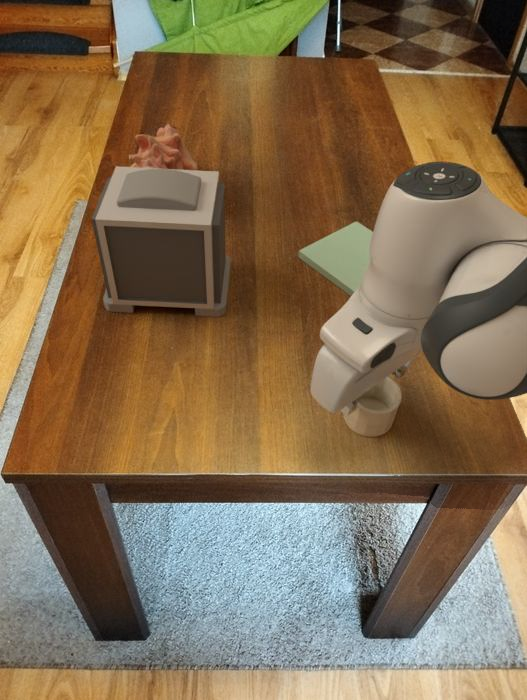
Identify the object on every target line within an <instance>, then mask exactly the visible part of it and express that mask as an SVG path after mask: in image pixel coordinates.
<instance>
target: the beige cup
mask: <svg viewBox="0 0 527 700" xmlns="http://www.w3.org/2000/svg"><path fill="white" fill-rule="evenodd" d="M402 399H403V398H402V390H401V388H400V386H399V385H398V383H397V381H395V380H394V379H393V378H391V377H390V376H388V377H386V378H385V379H384V380H382V381H381V382H379V383H378V384H377V385H375V386H374V387H373V388H371V389H370V390H368V391H367V392H365V393H364V394H363V395H361V396H360V397H359V398H357V399H356V401H357V402H358V405H357V407H356V410H355V411H354V412H352V413H351V414H349V415H348V416H345V415H344V414H343V413H342V417H343V421H344V423H345V424H346V425H347V427H348V428H349V429H350V430H351V431H353V432H354V433H356V434H358V435H360V436H363V437H368V438H369V437H370V438H374V437H375V438H376V437H381V436H382V435H384V434H387V433H388V432H389V431H390V429H391V428H392V426H393V423H394V422H395V420H396V417H397V414H398V411H399V408H400V405H401V403H402Z"/></svg>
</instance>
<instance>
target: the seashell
mask: <svg viewBox="0 0 527 700" xmlns="http://www.w3.org/2000/svg"><path fill="white" fill-rule="evenodd" d="M134 139H135V141H136V142H137V145H138V146H139V149H138V151H137V153H133V154H128V159H129V160H130V161H132V162H133V163H132V164H131V165H130V166H129V167H138V168H158V169H177V170H197V171H199V168H198V167H199V166H198V163H197V162H196V161H195V160H194V159H193V158H192V153H190V152H189V151H188V149H187V147H186V145H185V142H184V141H183V139H182V136H181V134H179V133H178V130H177V129H176V128H174V127H173V126H171V125H170V124H169V123H167V124H166V125H165V126H164V127H162V126H161V127H160V128H158V130H157V131H156V136H154V135H150V134H146V133H144V134H136V135H135V136H134Z"/></svg>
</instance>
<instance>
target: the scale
mask: <svg viewBox="0 0 527 700" xmlns="http://www.w3.org/2000/svg"><path fill="white" fill-rule="evenodd" d="M372 235H373V230H371V229H369V228H367V227H366V226H365V225H363V224H362V223H360V222H358V221H354V222H352V223H349V224H348V225H345V226H344V227H342V228H340V229H337V230H336V231H335V232H332V233H330V234H328V235H327V236H324V237H323V238H320V239H318V240H317V241H315V242H313V243H311V244H309V245H307V246H305V247H303V248H300V249H299V250H298V255H297V256H298V257H297V258H299V259H300V260H301V261H302V262H304V263H305V264H307V265H308V266H309V267H311V268H312V270H313V269H314V270H315V271H316V272H317V273H319V274H320V275H321V276H323V277H324V278H326V279H327V280H328V281H329V282H331V283H332V284H333V285H335V286H336V287H337V288H338V289H340V290H342V291H343V292H344V293H346V294H347V295H348V296H350V297H351V296H352V295H353V293H354V292H355V291H356V290H357V289H358V288H360V285H361V281H362V277H363V274H364V272H365V270H366V269H367V267H368V266H369V264H370V254H369V248H370V243H371V239H372Z"/></svg>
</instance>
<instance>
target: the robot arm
mask: <svg viewBox="0 0 527 700" xmlns="http://www.w3.org/2000/svg"><path fill="white" fill-rule="evenodd" d="M372 232H373V235H372V239H371V243H370V248H369V254H370V264H369V266H368V267H367V269H366V270H365V272H364V274H363V277H362V281H361V285H360V288H358V289H357V290H356V291H355V292H354V293H353V295H352V296H350V297H349V299H348V300H347V301H346V302H345V303H344V304H343V306H341V308H340V309H339V310H337V311H336V312H335V313H334V314H333V315H332V316H331V317H330V318H329V319H328V320H327V321H326V322H325V323H323V325H322V326H321V327H320V331H319V339H320V340H321V341H322V342H323V343H324V344H323V345H322V346H321V348H320V349H319V351H318V353H317V354H316V355H317V356H316V358H315V361H314V364H313V370H312V375H311V379H310V380H311V381H310V388H309V389H310V395H311V397H312V398H313V399H314V400H315V401H316V403H318V405H320V406H321V407H322V408H323V409H324V410H326V411H327V412H329V413H331V414H337V413H339V412H340V413H342V415H343V414H344V415H345V416H348V415H349V414H351V413H352V412H354V411H355V410H356V407H357V405H358V402H357V401H356V399H357V398H359V397H360V396H361V395H363V394H364V393H365V392H367V391H368V390H370V389H371V388H373V387H374V386H375V385H377V384H378V383H379V382H381V381H382V380H384V379H385V378H386V377H390V376H391V375H394V377H395V378H397V379H400V378H402V377H403V376H404V375H406V374H407V373H408V372H409V369H410V367H411V365H412V364H413V362H414V361H415V360H416V358H417V357H418V356H419V355H420V354H421V353H423V355H424V356H425V359H426V360H427V362H428V364H429V366H430V367H431V368H432V370H433V371H434V373H435V374H436V376H437V377H438V378H440V379H441V380H442V381H443V383H445V384H446V385H447V386H448V387H450V388H451V389H452V390H454V391H456V392H458V393H459V394H462V395H464V396H467V397H469V398H474V399H477V400H478V399H479V400H487V401H490V400H491V401H494V400H496V401H497V400H498V401H499V400H506V399H511V398H516V397H520V396H523V395H526V394H527V216H524V215H523V214H521V213H519V212H517V211H516V210H515V209H513V208H512V207H511V206H509V205H507V204H506V203H505V202H503V201H502V200H501V199H500V198H499V197H498V196H497V195H495V193H493V191H492V190H491V189H490V188H489V186H488V184H487V183H486V181H485V179H484V178H483V176H482V175H481V174H480V173H479V172H478V171H476V170H475V169H473V168H471V167H470V166H467V165H464V164H462V163H457V162H453V161H429V162H426V163H421V164H418V165H414V166H412V167H410V168H408V169H406V170H405V171H403V172H402V173H400V174H399V175H398V176H397V177H396V178H395V179H394V180H393V182H392V183H391V184H390V186H389V187H388V189H387V191H386V192H385V196H384V197H383V200H382V202H381V205H380V208H379V211H378V213H377V216H376V221H375V223H374V228H373V230H372Z"/></svg>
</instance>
